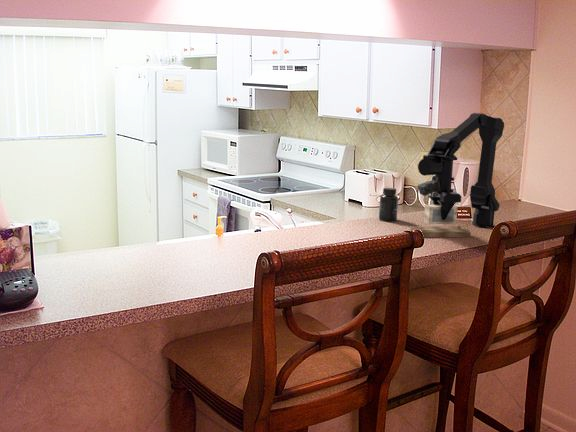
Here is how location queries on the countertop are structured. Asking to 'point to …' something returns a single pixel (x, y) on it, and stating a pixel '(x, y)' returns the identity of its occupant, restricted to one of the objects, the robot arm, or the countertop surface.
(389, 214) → the supplement bottle
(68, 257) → the countertop surface
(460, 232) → the notched ledge
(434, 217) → the ash frame block
